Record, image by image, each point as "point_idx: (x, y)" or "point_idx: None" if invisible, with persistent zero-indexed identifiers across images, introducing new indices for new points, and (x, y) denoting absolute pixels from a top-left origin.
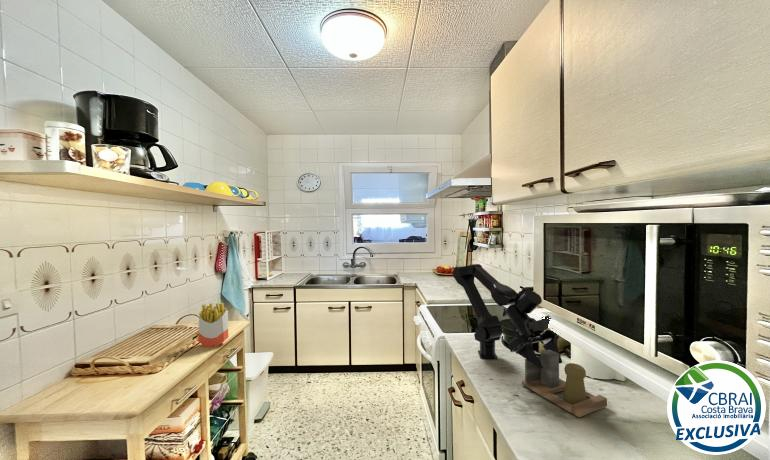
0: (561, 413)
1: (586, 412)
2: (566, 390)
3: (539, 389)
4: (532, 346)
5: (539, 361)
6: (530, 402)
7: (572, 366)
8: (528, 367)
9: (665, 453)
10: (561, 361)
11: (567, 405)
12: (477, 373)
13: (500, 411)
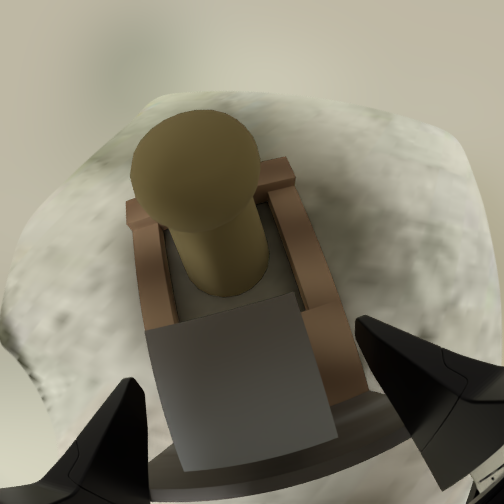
0: (322, 208)
1: None
2: (261, 232)
3: (341, 331)
4: (500, 400)
5: (388, 336)
6: (397, 283)
7: (218, 126)
8: (392, 406)
9: (189, 92)
10: (128, 380)
11: (295, 203)
12: (463, 481)
13: (483, 248)
